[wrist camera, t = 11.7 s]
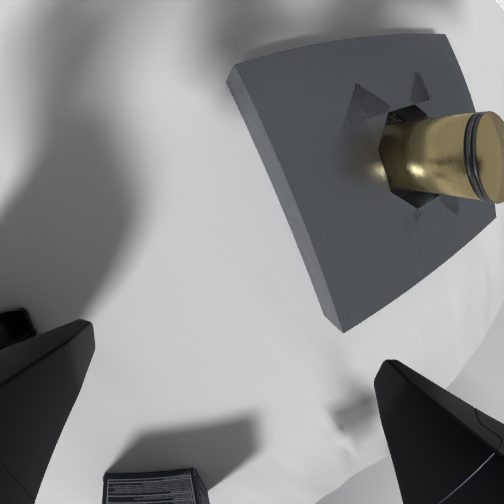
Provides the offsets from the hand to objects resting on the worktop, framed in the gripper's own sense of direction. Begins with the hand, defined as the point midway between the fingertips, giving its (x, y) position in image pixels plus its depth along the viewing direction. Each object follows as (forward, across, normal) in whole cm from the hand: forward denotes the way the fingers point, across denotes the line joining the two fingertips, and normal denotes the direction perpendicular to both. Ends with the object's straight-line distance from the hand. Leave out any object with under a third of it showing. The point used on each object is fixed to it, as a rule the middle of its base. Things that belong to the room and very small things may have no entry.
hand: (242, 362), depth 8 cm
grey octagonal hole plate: (+14, -10, -8) cm, 20 cm away
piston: (+14, -10, -8) cm, 20 cm away
